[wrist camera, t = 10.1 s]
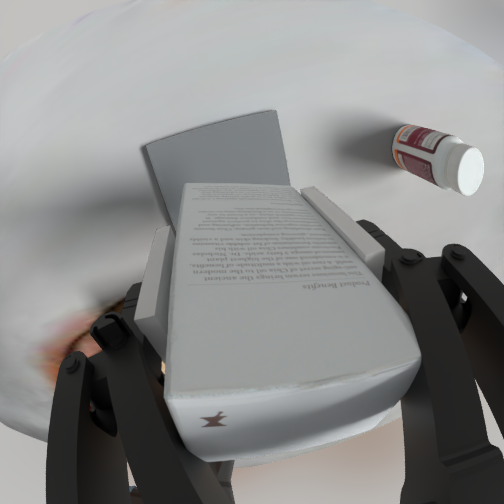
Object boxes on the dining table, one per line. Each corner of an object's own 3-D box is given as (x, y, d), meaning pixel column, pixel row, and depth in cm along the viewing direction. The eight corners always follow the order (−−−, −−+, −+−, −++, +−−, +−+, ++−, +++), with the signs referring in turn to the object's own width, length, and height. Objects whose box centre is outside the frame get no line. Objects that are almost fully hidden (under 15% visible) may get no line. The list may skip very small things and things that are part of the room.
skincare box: (184, 251, 16) (184, 464, 6) (183, 180, 14) (154, 397, 4) (285, 250, 17) (375, 431, 7) (295, 184, 15) (444, 349, 5)
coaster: (185, 253, 24) (185, 256, 24) (147, 144, 19) (145, 145, 18) (294, 222, 24) (297, 225, 24) (274, 110, 19) (276, 110, 19)
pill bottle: (421, 170, 24) (480, 201, 17) (388, 168, 23) (449, 200, 16) (426, 127, 21) (490, 147, 14) (392, 120, 21) (459, 138, 14)
